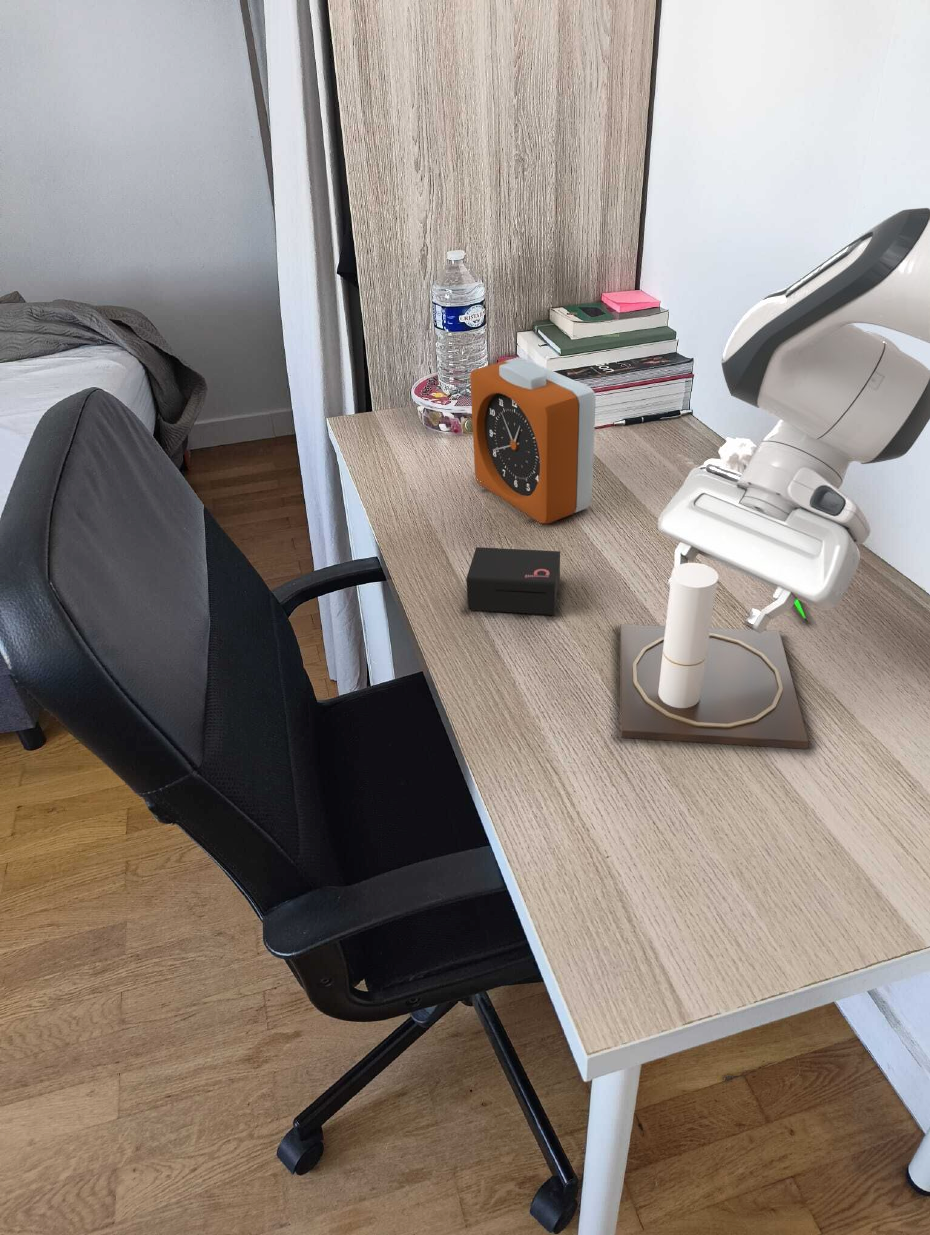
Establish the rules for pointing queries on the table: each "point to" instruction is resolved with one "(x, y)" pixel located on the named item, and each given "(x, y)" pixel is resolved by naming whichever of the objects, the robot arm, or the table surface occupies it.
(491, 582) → the electronic device
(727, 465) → the white tied bag
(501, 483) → the alarm clock
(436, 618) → the table surface
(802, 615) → the leaf
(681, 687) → the tube
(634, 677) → the board
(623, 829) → the table surface
